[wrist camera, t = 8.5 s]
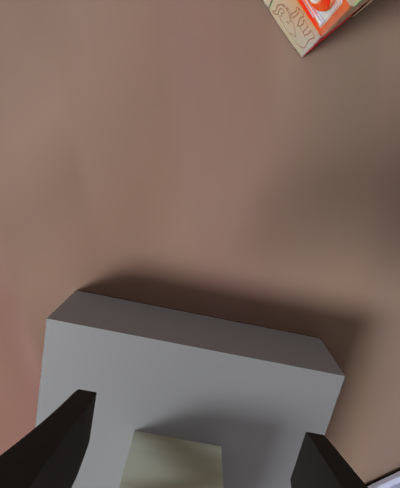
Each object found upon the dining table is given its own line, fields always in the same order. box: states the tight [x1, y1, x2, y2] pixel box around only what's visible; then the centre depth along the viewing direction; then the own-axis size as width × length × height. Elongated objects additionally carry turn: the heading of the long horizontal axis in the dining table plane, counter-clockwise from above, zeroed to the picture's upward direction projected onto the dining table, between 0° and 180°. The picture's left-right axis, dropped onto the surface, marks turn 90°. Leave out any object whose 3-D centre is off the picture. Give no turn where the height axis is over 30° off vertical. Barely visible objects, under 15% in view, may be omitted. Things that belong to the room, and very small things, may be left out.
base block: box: [35, 290, 345, 488], centre depth 21 cm, size 16×16×4 cm
